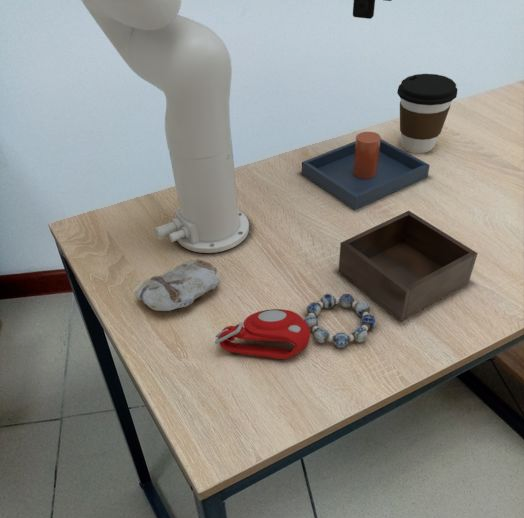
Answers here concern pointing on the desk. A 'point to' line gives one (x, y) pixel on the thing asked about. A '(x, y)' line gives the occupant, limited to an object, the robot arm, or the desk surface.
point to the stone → (178, 286)
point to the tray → (364, 190)
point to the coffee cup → (424, 109)
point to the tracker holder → (267, 333)
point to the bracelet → (340, 338)
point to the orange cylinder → (366, 155)
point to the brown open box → (406, 264)
